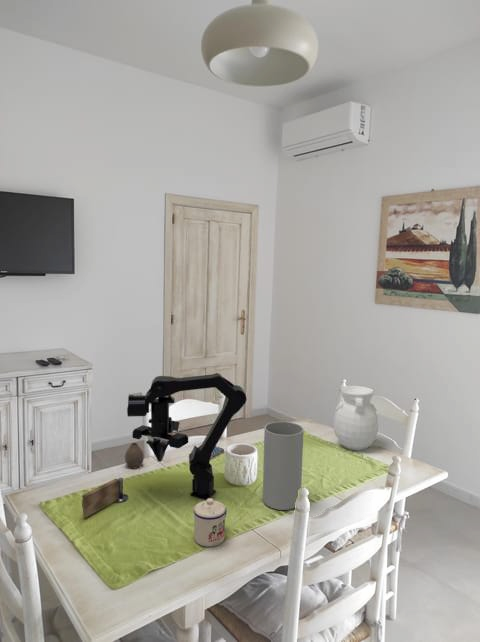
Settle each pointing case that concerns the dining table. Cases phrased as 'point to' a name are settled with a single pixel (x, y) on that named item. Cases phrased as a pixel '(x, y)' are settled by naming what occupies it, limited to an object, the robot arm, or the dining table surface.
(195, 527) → the teacup with lid
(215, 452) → the woven mat
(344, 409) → the pitcher
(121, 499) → the hinge pin
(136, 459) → the vase
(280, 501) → the cylinder vase
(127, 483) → the dining table surface
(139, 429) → the robot arm
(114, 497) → the brown wooden plank
